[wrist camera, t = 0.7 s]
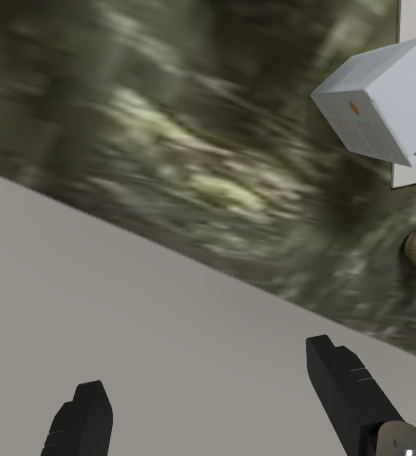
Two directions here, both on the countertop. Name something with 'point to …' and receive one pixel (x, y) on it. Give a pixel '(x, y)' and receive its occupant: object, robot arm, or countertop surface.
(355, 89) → the small box
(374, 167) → the countertop surface
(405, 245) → the fennel bulb
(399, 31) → the mat
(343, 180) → the countertop surface
